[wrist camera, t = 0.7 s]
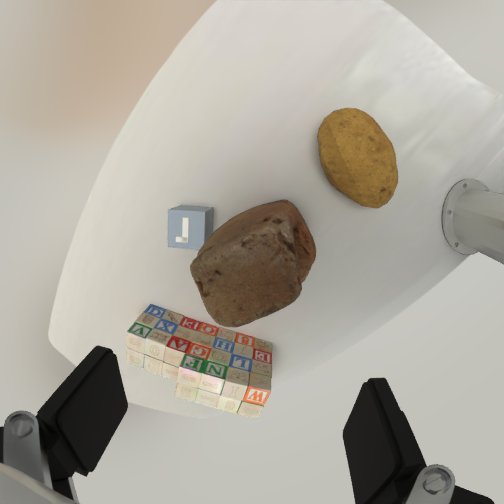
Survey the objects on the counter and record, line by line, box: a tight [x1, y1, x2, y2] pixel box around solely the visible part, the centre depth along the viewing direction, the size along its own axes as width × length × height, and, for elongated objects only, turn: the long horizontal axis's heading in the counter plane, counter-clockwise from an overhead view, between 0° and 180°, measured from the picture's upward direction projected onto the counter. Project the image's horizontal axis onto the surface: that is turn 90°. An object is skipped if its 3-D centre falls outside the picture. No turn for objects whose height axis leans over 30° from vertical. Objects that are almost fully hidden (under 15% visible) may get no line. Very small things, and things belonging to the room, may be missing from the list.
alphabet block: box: [168, 205, 214, 250], centre depth 38 cm, size 5×5×5 cm
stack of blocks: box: [126, 305, 272, 419], centre depth 40 cm, size 21×6×12 cm, turn 74°
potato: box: [318, 108, 398, 208], centre depth 32 cm, size 10×13×9 cm
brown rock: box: [190, 200, 316, 327], centre depth 31 cm, size 11×8×20 cm
